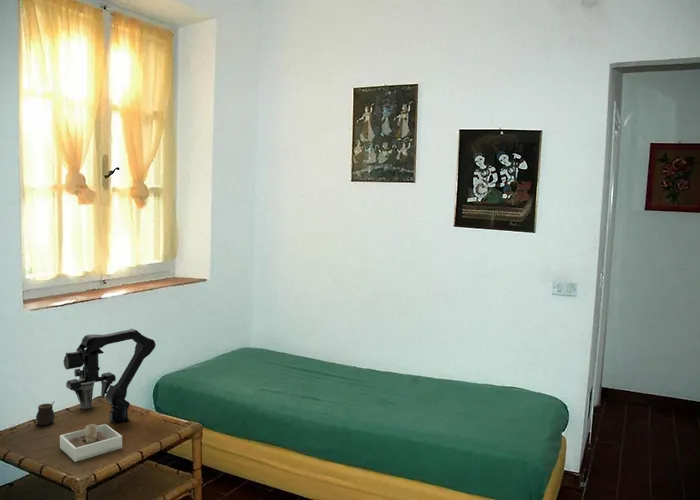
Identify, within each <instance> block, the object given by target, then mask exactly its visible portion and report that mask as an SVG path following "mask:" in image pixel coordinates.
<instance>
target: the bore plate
mask: <svg viewBox="0 0 700 500" xmlns="http://www.w3.org/2000/svg"><path fill="white" fill-rule="evenodd" d="M106 439H109V438H108V437H106V436H105V435H104V434H102V433H101V432H98V433H97V442H99V441H103V440H106ZM70 443H71V444H73V445H74V446H75V447H76V448H77V447H81V446H84V445H88V444H86V436H83V437H79V438H75V439H71V440H70ZM91 444H92V443H91Z"/></svg>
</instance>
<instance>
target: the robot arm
mask: <svg viewBox="0 0 700 500" xmlns="http://www.w3.org/2000/svg"><path fill="white" fill-rule="evenodd" d="M129 340H132V341H133V342H134V343H135V346H134V352H133V353H134V354H133V356H132V357H131V359H130V361H129V363H128V364H127V366H126V368H125V369H124V371H123V372H122V374H121V376H120V378H119V379H118V382H117V383H115V384H114V385H113V382H116V375H115V374H114V373H112V372H110V371H108V372H104V373H101V375H100V376H99V371H100V370H101V369H100V368H101V367H100V363H99V360H100V359H99V355H100V354H104V351H103V350H101V349H102V348H104V347H105V346H107V345H110V344H115V343H120V342H121V343H122V342H124V341H129ZM155 347H156V342H155V340H154V339H152V338H149V337H147V336H145V335H143V334H142V333H141V332H140V331H138V330H137V329H134V328H130V329H127V330H125V329H124V330H121V331H116V332H111V333H107V334H97V333H96V334H86V335H84V337H82V339H81V343H80V344H79V345H78V346H77V348H76V350H75V351H71V352H70V351H69V352H65V356H64V358H63V366H64V368H65V370H66V371H67V370H73V369H74V370H73V372H74V377H75V378H74V379H70V380H67V381H66V383H65V387H66V388H68V389H69V390H70V391H73V392H74V393H75V394H76V396H77V399H78V402H79V404H80V403H82V389H81V388H80V387H81V385H85V384H89V383H94V384H95V383H97V382H100V383H101V390H100V391H101V392H100V393H101V399H104V398H105V401H106V402H107V403H108V404H109V405H110V406H111V407H110V411H109V421H111V422H112V423H113V424H120V423H123V422H128V421H130V418H129V412H128V411H129V408H130V404H131V403H130V402H129V401H128V400H126V397H127V393H128V388H129V385H130V384H131V382H132V380H133V378H134V377H135V375H136V373H137V372H138V370H139V368H140V367H141V365H142V363H143V361H144V360H145V359H147V357H149V355H151V354H152V353H153V351H154V350H155ZM83 366H84V367H83ZM81 367H82V369H81ZM77 377H78V379H77ZM79 378H82V379H84V380H81V381H79Z"/></svg>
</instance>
